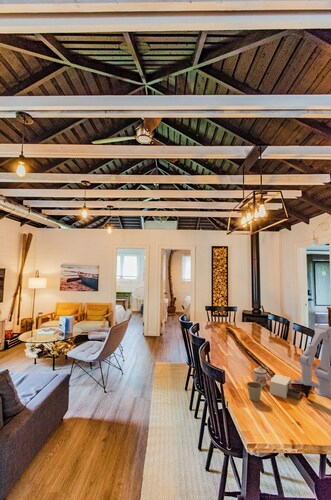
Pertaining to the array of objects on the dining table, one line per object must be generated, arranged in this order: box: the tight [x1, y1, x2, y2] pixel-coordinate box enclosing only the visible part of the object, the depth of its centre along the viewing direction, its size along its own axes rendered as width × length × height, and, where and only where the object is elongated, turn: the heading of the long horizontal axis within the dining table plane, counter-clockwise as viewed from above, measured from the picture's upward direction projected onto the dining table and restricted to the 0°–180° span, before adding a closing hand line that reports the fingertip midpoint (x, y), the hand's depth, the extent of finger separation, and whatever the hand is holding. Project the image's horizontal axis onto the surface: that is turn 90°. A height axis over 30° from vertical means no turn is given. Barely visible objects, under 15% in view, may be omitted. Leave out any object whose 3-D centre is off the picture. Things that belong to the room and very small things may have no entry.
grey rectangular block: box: [269, 373, 292, 399], centre depth 174 cm, size 15×10×8 cm
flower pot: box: [246, 381, 263, 402], centre depth 164 cm, size 9×9×9 cm
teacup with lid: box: [252, 365, 272, 387], centre depth 186 cm, size 12×9×12 cm
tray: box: [287, 388, 303, 401], centre depth 171 cm, size 10×14×2 cm
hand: (307, 397), depth 165 cm, fingers closed
